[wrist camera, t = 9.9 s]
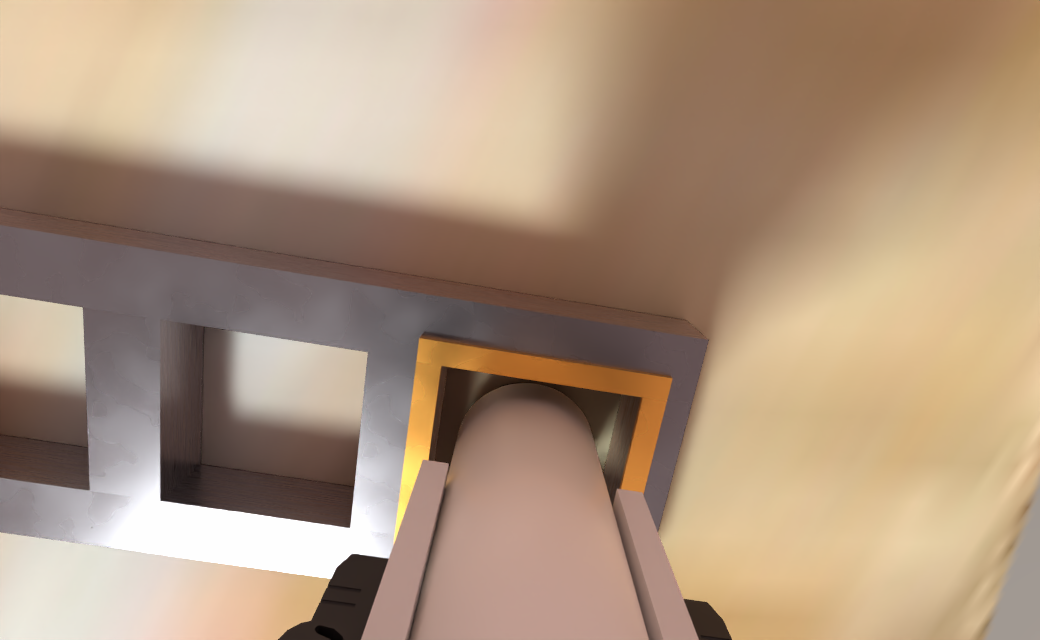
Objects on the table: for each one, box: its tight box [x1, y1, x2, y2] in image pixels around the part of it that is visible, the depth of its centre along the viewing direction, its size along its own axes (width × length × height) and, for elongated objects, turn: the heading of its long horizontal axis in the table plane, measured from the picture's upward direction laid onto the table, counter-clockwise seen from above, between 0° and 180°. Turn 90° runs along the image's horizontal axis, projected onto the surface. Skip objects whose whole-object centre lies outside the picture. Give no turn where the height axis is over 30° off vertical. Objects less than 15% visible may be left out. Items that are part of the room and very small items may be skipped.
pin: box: [409, 383, 649, 640], centre depth 13 cm, size 5×5×15 cm
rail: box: [0, 208, 709, 579], centre depth 19 cm, size 28×11×3 cm, turn 81°
